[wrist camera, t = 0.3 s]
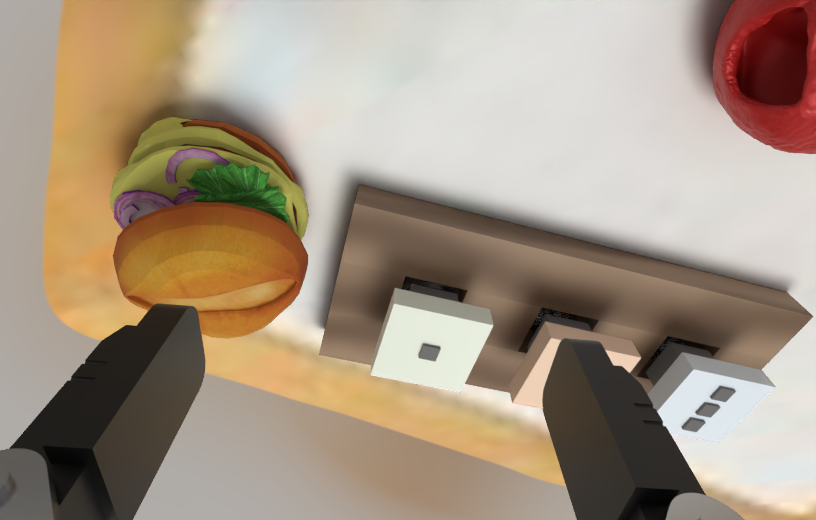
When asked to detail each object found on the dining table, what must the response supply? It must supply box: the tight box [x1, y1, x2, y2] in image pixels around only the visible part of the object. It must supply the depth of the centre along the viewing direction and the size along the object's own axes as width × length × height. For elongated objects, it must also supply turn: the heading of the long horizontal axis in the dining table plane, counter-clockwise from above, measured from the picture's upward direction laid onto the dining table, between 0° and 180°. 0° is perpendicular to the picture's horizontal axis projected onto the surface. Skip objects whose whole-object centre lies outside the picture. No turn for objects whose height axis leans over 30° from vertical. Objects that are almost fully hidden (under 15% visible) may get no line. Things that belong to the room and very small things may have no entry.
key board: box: [319, 185, 813, 394], centre depth 32 cm, size 12×30×2 cm, turn 75°
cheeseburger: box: [110, 117, 309, 338], centre depth 26 cm, size 10×11×10 cm
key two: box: [509, 314, 641, 409], centre depth 29 cm, size 6×6×4 cm
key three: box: [646, 342, 776, 443], centre depth 31 cm, size 6×6×4 cm
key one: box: [371, 283, 494, 393], centre depth 28 cm, size 6×6×4 cm
